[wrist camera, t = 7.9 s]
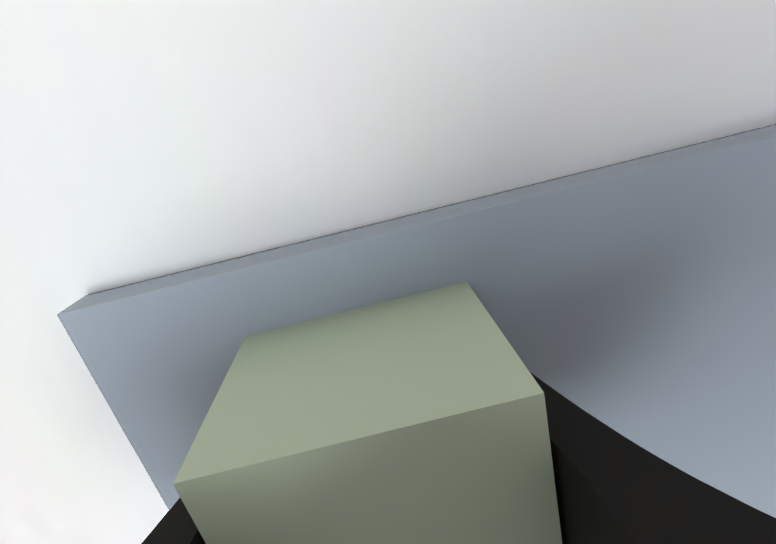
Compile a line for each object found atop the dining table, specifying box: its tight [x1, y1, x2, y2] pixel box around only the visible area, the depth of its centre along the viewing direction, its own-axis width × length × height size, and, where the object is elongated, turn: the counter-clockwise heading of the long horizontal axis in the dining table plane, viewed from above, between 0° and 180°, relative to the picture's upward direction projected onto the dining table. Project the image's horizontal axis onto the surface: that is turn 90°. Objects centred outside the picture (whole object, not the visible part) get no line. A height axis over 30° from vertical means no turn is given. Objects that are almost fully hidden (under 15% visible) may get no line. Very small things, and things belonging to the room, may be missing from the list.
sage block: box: [173, 282, 562, 544], centre depth 8 cm, size 5×5×4 cm
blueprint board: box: [57, 125, 776, 518], centre depth 12 cm, size 20×18×1 cm
